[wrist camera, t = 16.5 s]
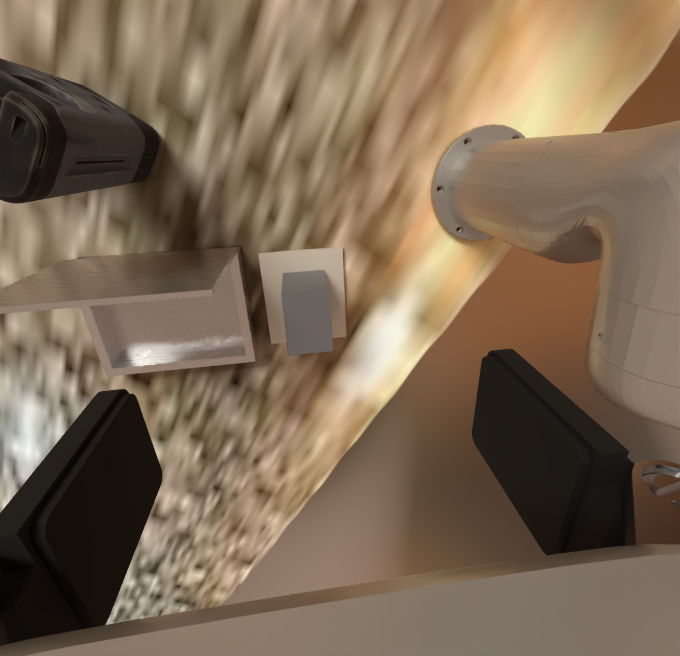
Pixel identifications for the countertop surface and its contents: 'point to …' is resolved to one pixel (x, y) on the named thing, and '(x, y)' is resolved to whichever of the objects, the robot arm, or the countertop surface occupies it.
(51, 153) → the electronic device
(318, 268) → the flat beige panel
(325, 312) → the block
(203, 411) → the countertop surface
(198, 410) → the countertop surface
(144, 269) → the case
